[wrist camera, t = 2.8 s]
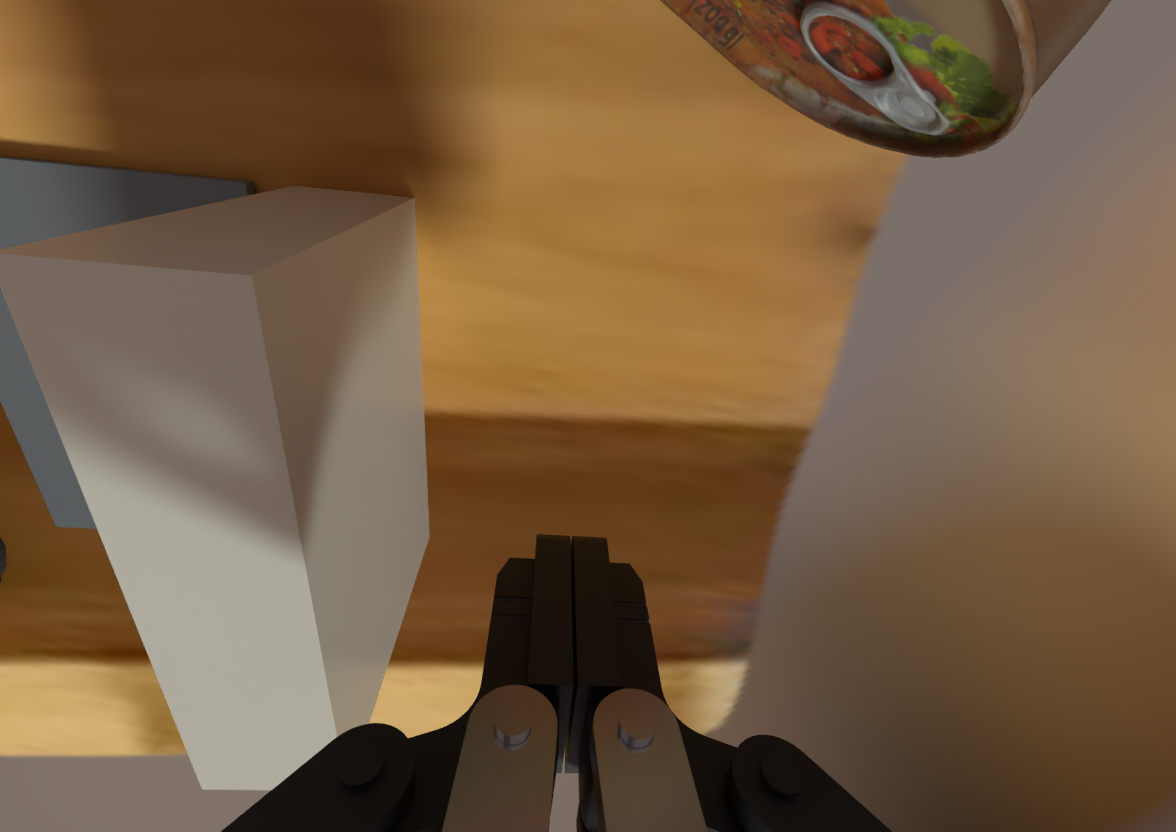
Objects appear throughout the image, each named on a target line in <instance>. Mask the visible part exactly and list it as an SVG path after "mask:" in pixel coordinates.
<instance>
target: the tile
mask: <svg viewBox="0 0 1176 832" xmlns="http://www.w3.org/2000/svg"><path fill="white" fill-rule="evenodd" d="M0 288H1V291H2V293H3V296H4V298H5V301H6V303H7V306H8V308H9V311H10V313H11V316H12V318H13V321H14V323H15V326H16V328H17V331H18V333H19V336H20V338H21V341H22V343H23V346H24V348H25V351H26V353H27V356H28V358H29V361H30V363H31V366H32V368H33V370H34V373H35V375H36V378H37V380H38V383H39V385H40V388H41V390H42V393H43V395H44V398H45V400H46V403H47V405H48V408H49V410H50V413H51V415H52V418H53V420H54V423H55V425H56V428H57V430H58V433H59V435H60V438H61V440H62V443H63V445H64V448H65V450H66V452H67V455H68V457H69V460H70V462H71V465H72V467H73V470H74V472H75V475H76V477H77V480H78V482H79V485H80V487H81V490H82V492H83V495H84V497H85V500H86V502H87V505H88V507H89V510H90V512H91V515H92V517H93V520H94V522H95V525H96V527H97V530H98V532H99V534H100V537H101V539H102V542H103V544H104V547H105V549H106V552H107V554H108V557H109V559H110V562H111V564H112V567H113V569H114V572H115V574H116V577H117V579H118V582H119V584H120V587H121V589H122V592H123V594H124V597H125V599H126V602H127V604H128V607H129V609H130V611H131V614H132V616H133V619H134V621H135V624H136V626H137V629H138V631H139V634H140V636H141V639H142V641H143V644H144V646H145V649H146V651H147V654H148V656H149V659H150V661H151V664H152V666H153V669H154V671H155V674H156V676H157V679H158V681H159V684H160V686H161V689H162V691H163V693H164V696H165V698H166V701H167V703H168V706H169V708H170V711H171V713H172V716H173V718H174V721H175V723H176V726H177V728H178V731H179V733H180V736H181V738H182V741H183V743H184V746H185V748H186V751H187V753H188V756H189V758H190V760H191V763H192V765H193V768H194V771H195V773H196V775H197V778H198V780H199V783H200V785H201V788H202V789H204V790H273V789H274V788H275V787H276V786H277V785H279V784H280V783H281V782H282V781H284V780H285V779H286V778H287V777H288V776H290V775H291V774H292V773H293V772H295V771H296V770H297V769H298V768H299V767H301V766H302V765H303V764H304V763H306V762H307V761H308V760H309V759H310V758H312V757H313V756H314V755H315V754H317V753H318V752H319V751H320V750H321V749H323V748H324V747H325V746H326V745H328V744H329V743H330V742H331V741H332V740H334V739H335V738H336V737H338V736H339V735H341V734H342V733H344V732H346V731H348V730H349V729H352V728H354V727H357V726H360V725H365V724H369V722H370V718H371V715H372V712H373V709H374V706H375V703H376V700H377V697H378V694H379V691H380V688H381V685H382V681H383V678H384V675H385V672H386V669H387V666H388V663H389V660H390V657H391V654H392V651H393V647H394V644H395V641H396V638H397V635H398V632H399V629H400V626H401V623H402V620H403V617H404V614H405V610H406V607H407V604H408V601H409V598H410V595H411V592H412V589H413V586H414V583H415V580H416V576H417V573H418V570H419V567H420V564H421V561H422V558H423V555H424V552H425V549H426V546H427V543H428V539H429V514H428V491H427V468H426V445H425V422H424V399H423V376H422V352H421V329H420V306H419V283H418V260H417V237H416V214H415V198H412V197H402V196H392V195H382V194H372V193H362V192H352V191H343V190H333V189H323V188H313V187H303V186H290V187H286V188H281V189H276V190H272V191H267V192H262V193H258V194H253V195H249V196H244V197H239V198H235V199H230V200H226V201H221V202H216V203H212V204H207V205H202V206H198V207H193V208H189V209H184V210H179V211H175V212H170V213H166V214H161V215H156V216H152V217H147V218H142V219H138V220H133V221H129V222H124V223H119V224H115V225H110V226H106V227H101V228H96V229H92V230H87V231H82V232H78V233H73V234H69V235H64V236H59V237H55V238H50V239H46V240H41V241H36V242H32V243H27V244H22V245H18V246H13V247H9V248H4V249H0Z"/></svg>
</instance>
